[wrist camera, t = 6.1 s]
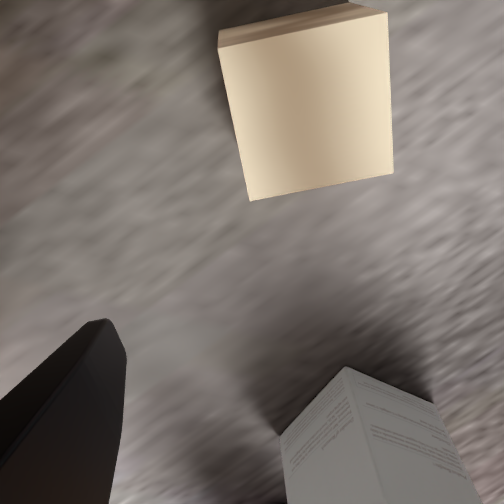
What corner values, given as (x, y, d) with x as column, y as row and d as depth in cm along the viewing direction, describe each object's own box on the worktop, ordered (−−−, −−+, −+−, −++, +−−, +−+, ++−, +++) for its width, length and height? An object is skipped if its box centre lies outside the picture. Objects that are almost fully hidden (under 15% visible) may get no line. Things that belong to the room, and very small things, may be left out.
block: (348, 2, 18) (387, 12, 14) (357, 130, 21) (393, 173, 16) (218, 29, 18) (217, 48, 14) (244, 153, 21) (249, 201, 16)
